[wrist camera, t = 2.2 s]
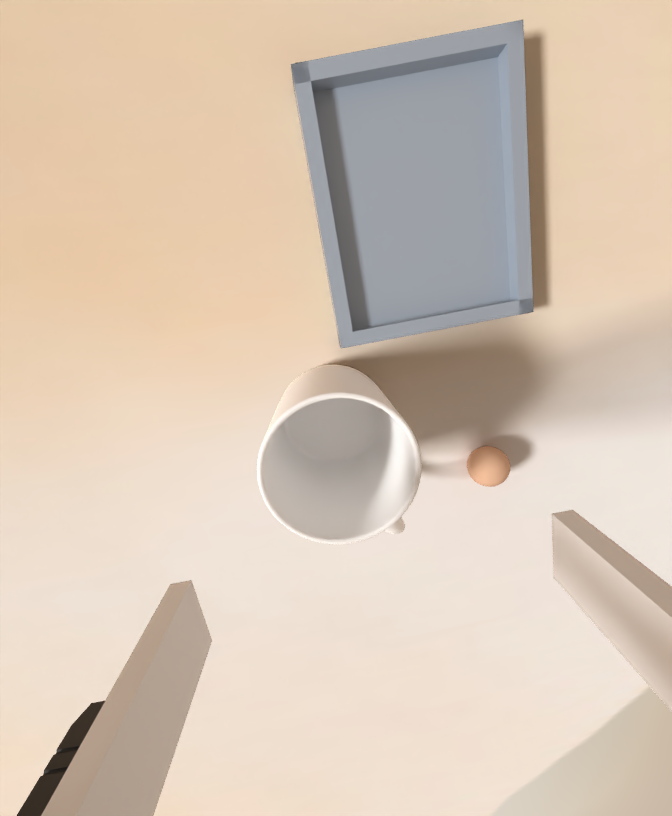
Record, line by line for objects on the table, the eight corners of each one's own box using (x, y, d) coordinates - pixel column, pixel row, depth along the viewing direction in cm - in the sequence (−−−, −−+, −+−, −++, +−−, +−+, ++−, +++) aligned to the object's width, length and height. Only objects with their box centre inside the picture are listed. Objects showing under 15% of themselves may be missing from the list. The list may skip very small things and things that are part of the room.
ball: (459, 444, 30) (475, 459, 27) (496, 437, 30) (517, 451, 27) (462, 478, 31) (478, 497, 28) (499, 471, 31) (519, 489, 28)
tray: (292, 82, 23) (290, 64, 21) (507, 41, 23) (522, 19, 21) (340, 345, 28) (341, 348, 26) (519, 311, 28) (533, 311, 26)
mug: (344, 511, 31) (356, 610, 21) (256, 404, 28) (221, 457, 18) (427, 456, 30) (483, 532, 20) (345, 340, 27) (361, 357, 17)
